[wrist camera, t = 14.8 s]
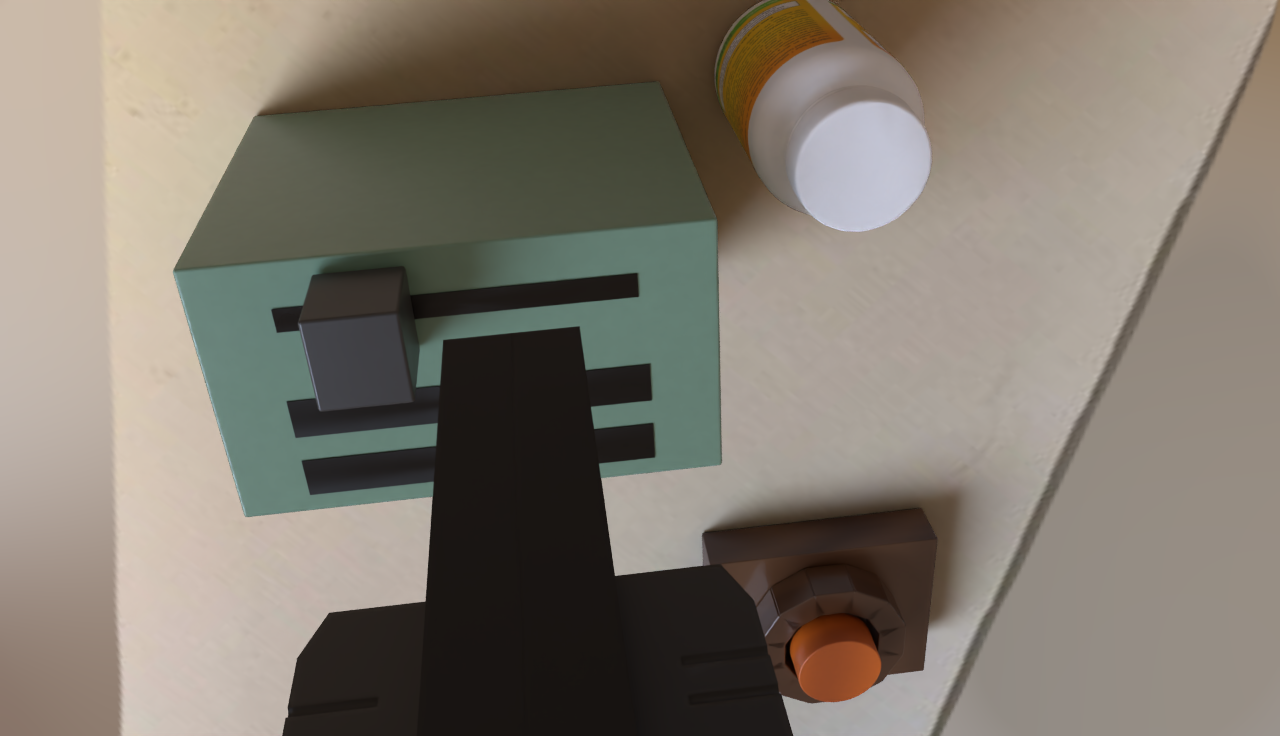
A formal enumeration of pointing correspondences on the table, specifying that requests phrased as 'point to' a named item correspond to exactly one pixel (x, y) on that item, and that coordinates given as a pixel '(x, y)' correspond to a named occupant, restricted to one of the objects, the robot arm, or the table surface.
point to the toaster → (458, 278)
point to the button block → (836, 582)
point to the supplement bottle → (824, 113)
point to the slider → (360, 338)
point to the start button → (835, 657)
